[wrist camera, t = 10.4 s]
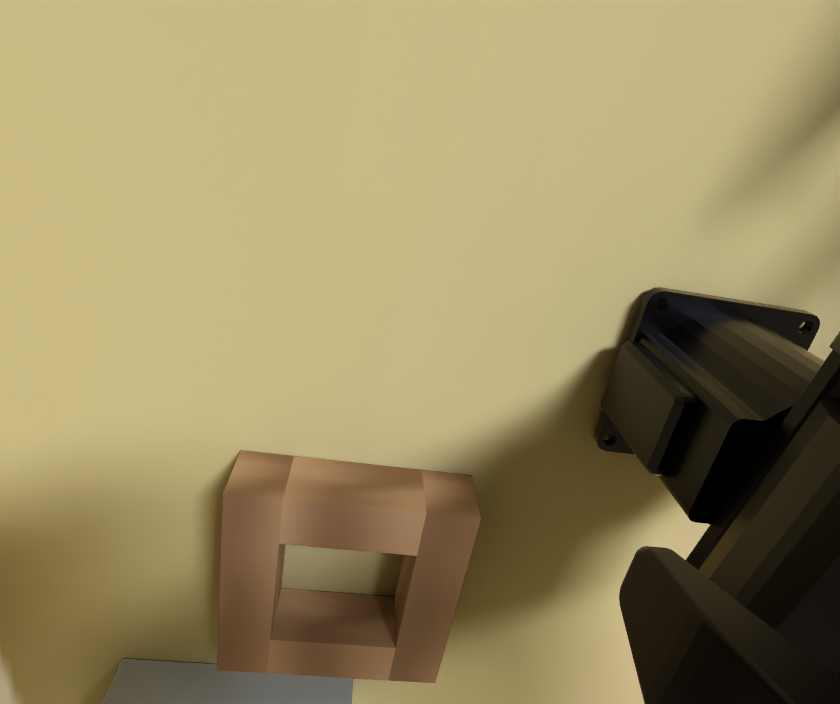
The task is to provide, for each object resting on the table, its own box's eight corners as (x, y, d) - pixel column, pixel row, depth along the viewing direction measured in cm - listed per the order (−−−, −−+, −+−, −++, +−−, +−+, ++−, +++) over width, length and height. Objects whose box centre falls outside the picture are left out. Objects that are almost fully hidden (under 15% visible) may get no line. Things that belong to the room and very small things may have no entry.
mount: (471, 475, 22) (481, 518, 20) (430, 631, 25) (434, 683, 23) (240, 450, 21) (222, 493, 18) (232, 616, 24) (216, 670, 22)
